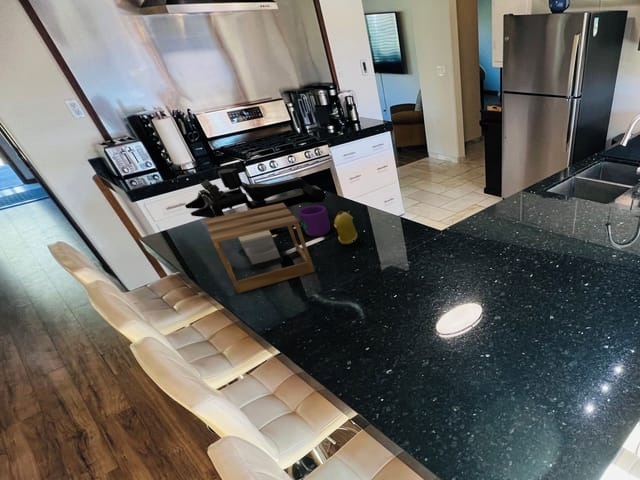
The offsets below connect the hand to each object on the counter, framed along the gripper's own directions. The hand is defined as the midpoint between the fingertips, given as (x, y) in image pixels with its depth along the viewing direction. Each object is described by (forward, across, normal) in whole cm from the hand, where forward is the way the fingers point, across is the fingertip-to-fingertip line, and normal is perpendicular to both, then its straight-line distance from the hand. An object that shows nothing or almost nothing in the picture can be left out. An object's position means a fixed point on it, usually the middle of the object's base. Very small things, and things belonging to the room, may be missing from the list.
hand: (188, 210), depth 154 cm
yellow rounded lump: (-46, +35, +17) cm, 60 cm away
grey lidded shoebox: (-15, +25, +16) cm, 33 cm away
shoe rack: (-13, +37, +15) cm, 42 cm away
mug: (-40, +13, +17) cm, 46 cm away
